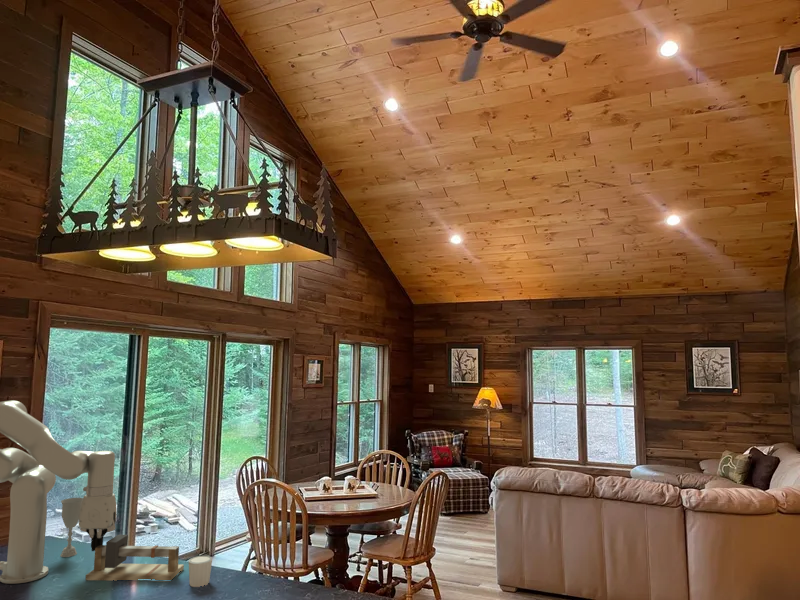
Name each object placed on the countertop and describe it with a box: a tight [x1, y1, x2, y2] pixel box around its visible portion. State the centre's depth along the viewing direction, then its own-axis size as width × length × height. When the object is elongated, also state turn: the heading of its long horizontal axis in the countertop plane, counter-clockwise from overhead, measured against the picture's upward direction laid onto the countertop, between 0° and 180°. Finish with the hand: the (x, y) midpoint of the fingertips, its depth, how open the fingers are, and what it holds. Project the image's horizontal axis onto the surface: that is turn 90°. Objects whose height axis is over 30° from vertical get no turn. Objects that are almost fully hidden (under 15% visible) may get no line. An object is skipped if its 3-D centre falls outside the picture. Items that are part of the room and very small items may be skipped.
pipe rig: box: [85, 544, 185, 582], centre depth 179 cm, size 26×10×8 cm, turn 90°
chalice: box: [59, 497, 83, 558], centre depth 197 cm, size 7×7×18 cm
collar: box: [105, 534, 129, 568], centre depth 179 cm, size 3×8×8 cm, turn 0°
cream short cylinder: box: [188, 555, 213, 588], centre depth 173 cm, size 7×7×7 cm
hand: (96, 549), depth 182 cm, fingers closed
